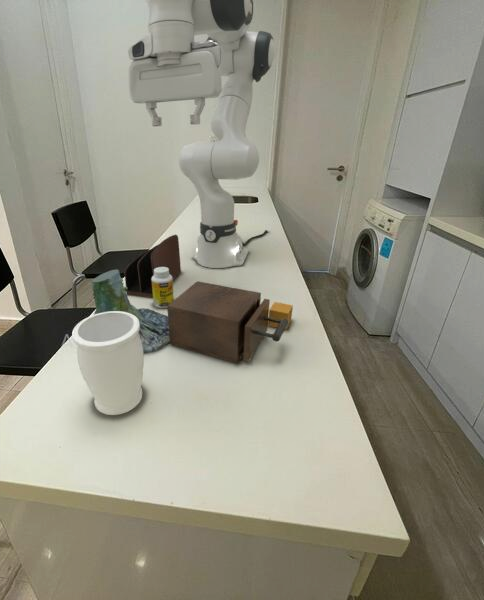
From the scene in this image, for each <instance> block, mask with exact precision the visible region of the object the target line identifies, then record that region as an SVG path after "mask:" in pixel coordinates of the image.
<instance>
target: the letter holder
mask: <svg viewBox="0 0 484 600" xmlns="http://www.w3.org/2000/svg"><path fill="white" fill-rule="evenodd" d="M158 267H167V268H168V269H169V274H170V275H171V276H172V279H173V281H174V280H175V279H177V278H178V276H180V274H181V273H182V267H181V252H180V242H179V236H178V235H177V234H172V235H170V236H168V237H167V238H165V239H163V240H162V241H161V242H160V243H159V244H157V245H155V246H153V247H152V248H150V249H147V250H146V251H144V252H142V253H141V254H139V255H138V256H137V257H135V258H134V259H133V260H132V261H131V262H130V263H129V264H128V265H127V266H126V268H125V269H124V280H125V283H124V284H125V287H127V288H128V290H127V291H126V295H129V296H137V297H146V298H147V297H148V298H153V291H152V280H151V279H152V276H153V275H154V269H155V268H158Z"/></svg>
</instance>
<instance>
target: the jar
mask: <svg viewBox="0 0 484 600" xmlns="http://www.w3.org/2000/svg"><path fill="white" fill-rule="evenodd" d="M139 329H140V324H139V320H138V318H137V317H136V316H134V315H133V314H130V313H127V312H122V311H109V312H102V313H98V314H95V315H94V314H92V315H90V316H88V317H85V318H84V319H82V320H80V321H79V322H78V323H77V324H76V325H75V326H74V327H73V329H72V332H71V336H72V340H73V342H74V344H75V345H76V346H77V347H76V354H77V363H78V367H79V370H80V374H81V376H82V379H83V381H84V382H85V384H86V387H87V390H88V392H89V393H90V394H91V396H92V398H94V407H95V408H96V410H97V411H98V412H100V413H101V414H104V415H108V416H117V415H118V416H119V415H122V414H127V413H129V412H130V411H132V410H133V409H134V408H136V407H137V406H138V405H139V404H140V402H141V400H142V398H143V389H142V387H141V386H142V382H143V379H144V378H143V377H144V364H145V363H144V361H145V353H143V347H142V343H141V339H140V336H139V334H138V332H139Z"/></svg>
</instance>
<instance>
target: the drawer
mask: <svg viewBox="0 0 484 600" xmlns="http://www.w3.org/2000/svg"><path fill="white" fill-rule="evenodd" d="M270 301H271V299H269V298H264V299H263V300H262V301H261V302H260V306H259V307H258V308H257V310H256V307H257V302H256V303H255V305H254V306H253V307H252V309H251V310H250V311H249V313H248V314H247V315H246V317H245V318H244V319H243V320H242V322H241V323H240V341H239V352H240V350H241V349H242V347H243V346H244V354H243V355H242V360H243V361H247V362H249V361H250V360H251V358H252V357H253V356H254V353H255V352H256V350H257V349H258V346H259V345H260V343H261V342H262V340H263V338H264V337H266V338H271V339H272V341H273V342H279V341H280V340H281V339H282V336H283V335H284V332H285V331H286V330H285V328H286V326H287V324H288V320H287V319H285V318H283V319H282V320H279V319H274V318H269V310H270V303H271V302H270ZM268 321H271V322H275V323H279V325H278V327H277V328H275V331H274V332H273V333H269V332H267V331H268V327H269V326H268Z"/></svg>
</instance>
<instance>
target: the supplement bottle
mask: <svg viewBox="0 0 484 600" xmlns="http://www.w3.org/2000/svg"><path fill="white" fill-rule="evenodd" d="M151 280H152V291H153V297H152V302H153V305H154V307H156V308H159V309H167V305H169V304H170V303H171V302H172V301H174V300H175V298H174V280H173V279H172V276H171V275H170V274H169V269H168V268H167V267H158V268H155V269H154V275H153V276H152V279H151Z"/></svg>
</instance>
